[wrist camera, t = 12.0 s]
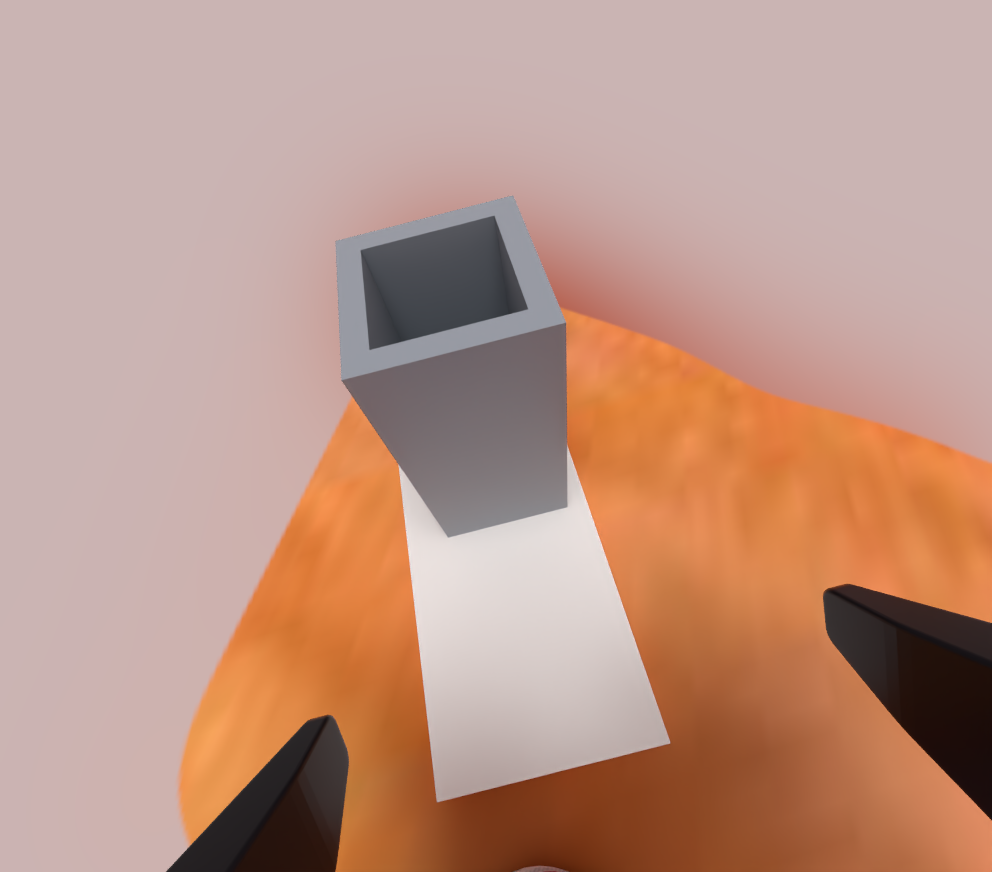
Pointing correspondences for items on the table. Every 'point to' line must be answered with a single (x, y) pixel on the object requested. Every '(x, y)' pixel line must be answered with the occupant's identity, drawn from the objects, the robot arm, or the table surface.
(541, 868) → the soda can
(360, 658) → the table surface
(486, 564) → the post board
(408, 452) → the sleeve
